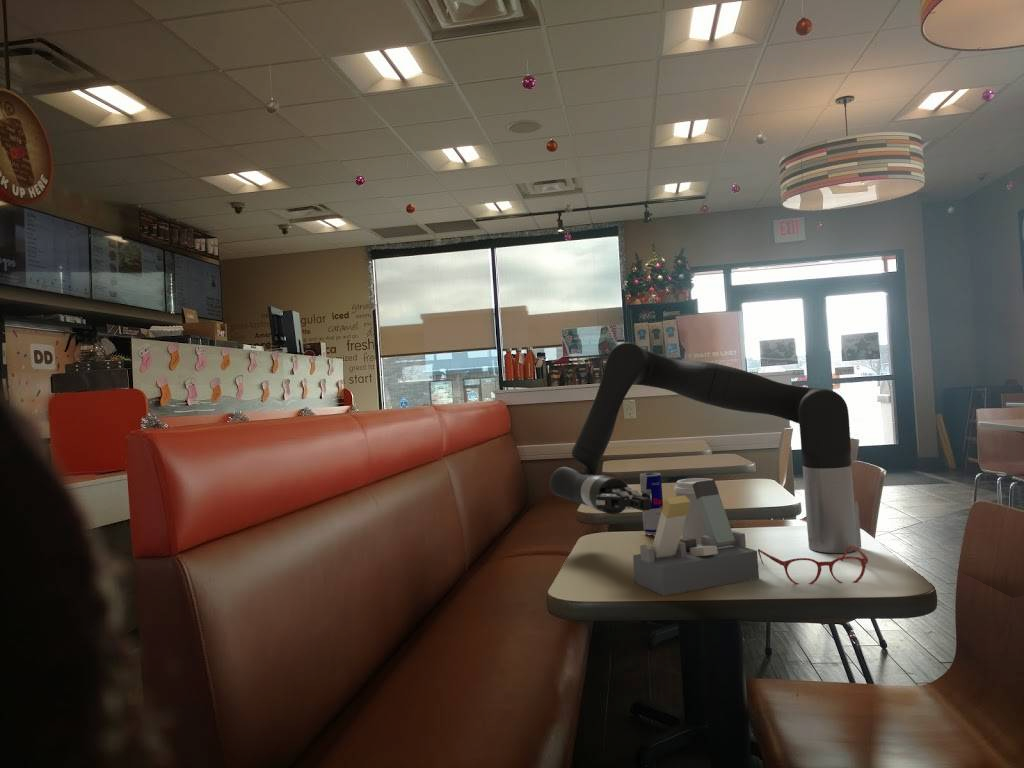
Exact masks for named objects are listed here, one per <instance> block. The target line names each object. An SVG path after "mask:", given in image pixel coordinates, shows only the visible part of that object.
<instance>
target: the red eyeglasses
mask: <svg viewBox="0 0 1024 768" xmlns="http://www.w3.org/2000/svg"><path fill="white" fill-rule="evenodd" d="M850 548H855V549H856V551H857V552H858V553H859V554H860V555H861V557H859V556H846V555H847V553H848V552H847V551H848V550H849V549H850ZM757 554H758V556H759V559H760V562H761V563H763V564H764V562H763V558H762V555H764V556H766V557H768V558H769V559H770V560H771V561H773V562H775V563H777V564H778V565H781V566H783V567H784V573H785V575H786V577H787V579H789V581H790V582H791V583H793V584H794V585H800V583H799V582H796V581H794V580H793V579H792V578H791V576H790V575H789V572H788V569H789V568H788V566H790V564H791V563H793V562H796V561H809V562H812V563H814V564H815V565H816V567H817V571H816V575H815V578H814V579H813V580H812V581H811V582H809V583H807V585H813V584H815V583H816V582H817V580H818V579H819V578H820V575H821V573H822V567H823V566H828V568H829V572H830V573H829V574H830V575H831V576H832V578H833V579H834V580H835V581H836V582H837V583H839V584H844V582H843V581H841V580H838V579H837V577H835V575H834V573H833V568H834V564H836V563H837V562H839V561H840V562H843V561H844V560H858V561H859V562H860V564H861V572H860V574H859V576H858V577H857V578H856V579H855V580H854V581H851V583H852V584H855V583H858V582H859V581H860V580H861V579H862V578H863V577H864V574H865V572H866V565H867V563H869V559H868V557H867V556H866V554H865V553H864V552H862V550H860V548H857V547H855V546H850V547H848V548H847V550H846V551H845V553H843V554H842V556H840V557H837V558H835V559H833V560H831V561H817V560H816V559H814V558H806V557H800V558H793V559H787V560H781V559H778V558H777V557H775V556H773V555H770V554H768V553H766V552H765V551H763V550H761V549H760V548H758V549H757ZM761 554H762V555H761Z"/></svg>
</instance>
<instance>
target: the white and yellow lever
mask: <svg viewBox="0 0 1024 768" xmlns="http://www.w3.org/2000/svg"><path fill="white" fill-rule="evenodd" d="M689 505H690V501H689V500H688V498H687V497H686V496H685V495H684V496H677V497H676V496H671V497H670V496H669V497H665V498H664V499H663V508H662V512H661V516H660V519H659V523H658V527H657V531H656V535H655V536H654V539H653V541H652V542H653V543H652V548H654V558H659V557H665V556H671V555H676V554H677V547H678V543H679V541H680V539H681V536H682V529H683V526H684V522H685V519H686V515H687V512H688V508H689Z"/></svg>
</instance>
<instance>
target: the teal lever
mask: <svg viewBox="0 0 1024 768" xmlns="http://www.w3.org/2000/svg"><path fill="white" fill-rule="evenodd" d="M716 485H717V484H716V481H715V479H713V480H707V481H700V482H696V483H694V484H693V485H692V486H693V489H694V492H695V495H696V498H697V501H698V504H699V507H700V510H701V513H702V517H703V520H704V523H705V526H706V529H707V532H708V535H709V537H713V538H715V543H716V546H717V548H719V547H725V546H731V545H736V539H735V538H734V536H733V533H732V531H733V530H732V528H731V524H730V522H729V519H728V515H727V514H726V509H725V507H724V504H723V502H722V499H721V495H720V493H719V490H718V489H719V488H718V489H717V487H718V485H717V486H716Z"/></svg>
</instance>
